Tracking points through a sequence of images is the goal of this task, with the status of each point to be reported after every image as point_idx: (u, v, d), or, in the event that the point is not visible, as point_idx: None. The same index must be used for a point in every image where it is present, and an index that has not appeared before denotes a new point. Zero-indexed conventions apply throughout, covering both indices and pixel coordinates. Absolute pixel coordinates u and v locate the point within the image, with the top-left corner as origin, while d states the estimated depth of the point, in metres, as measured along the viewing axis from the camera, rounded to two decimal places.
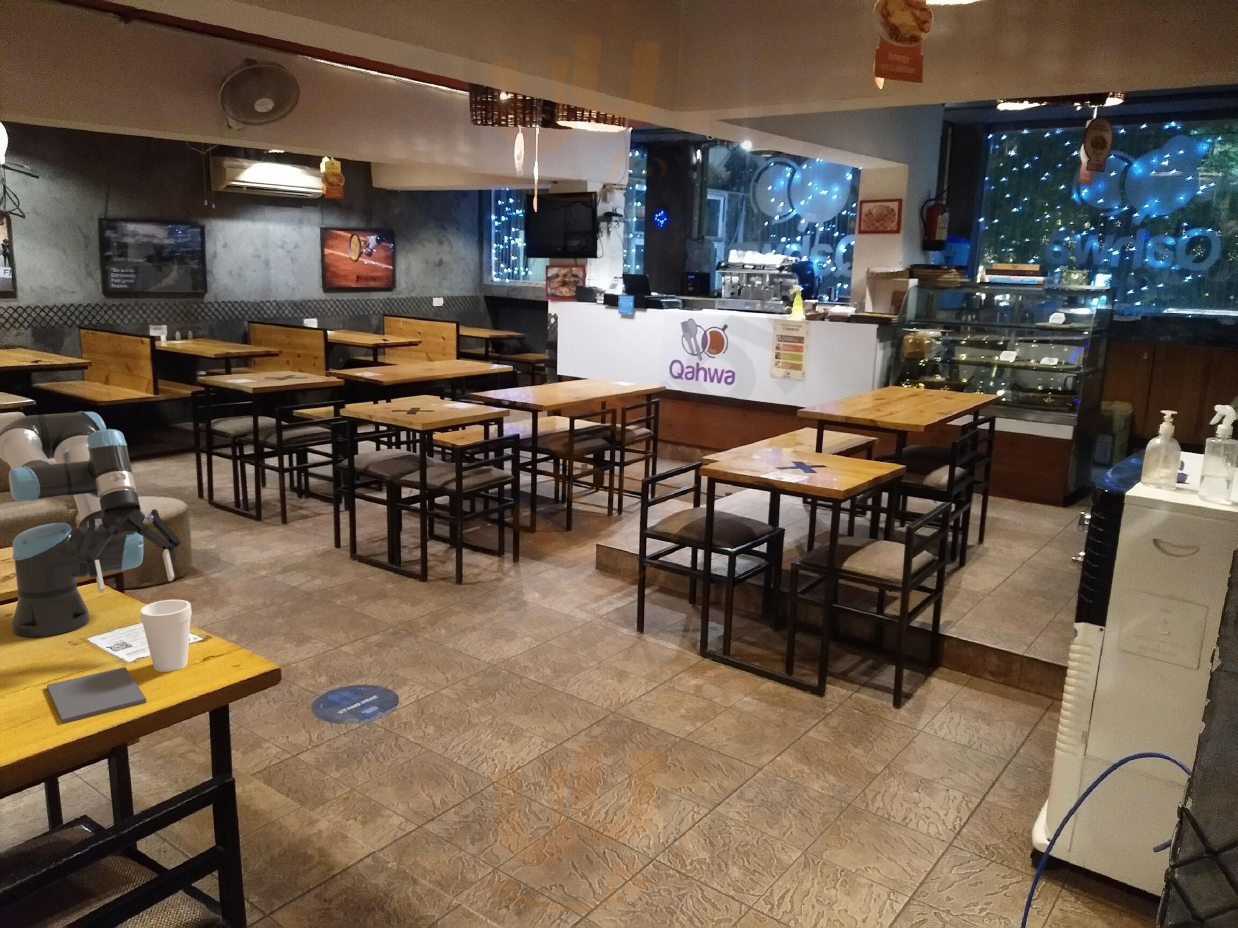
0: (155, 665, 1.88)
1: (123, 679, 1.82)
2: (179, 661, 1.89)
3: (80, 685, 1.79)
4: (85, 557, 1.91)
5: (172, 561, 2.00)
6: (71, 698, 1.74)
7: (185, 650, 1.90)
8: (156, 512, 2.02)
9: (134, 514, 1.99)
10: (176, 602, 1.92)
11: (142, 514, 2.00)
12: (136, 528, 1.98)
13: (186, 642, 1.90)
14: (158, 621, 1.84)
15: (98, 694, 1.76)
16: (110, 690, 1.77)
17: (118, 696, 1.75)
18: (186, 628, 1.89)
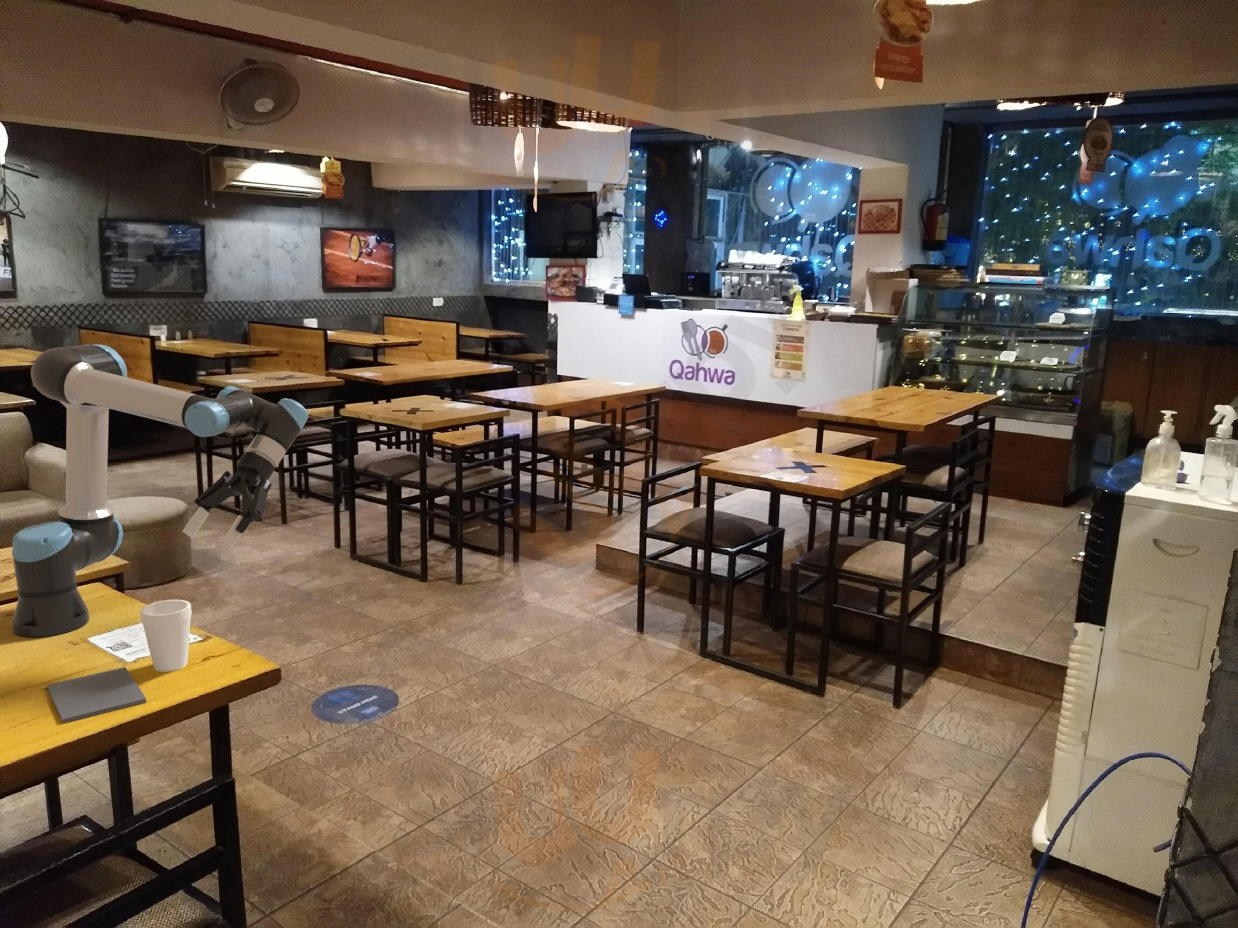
0: (155, 665, 1.88)
1: (123, 679, 1.82)
2: (179, 661, 1.89)
3: (80, 685, 1.79)
4: None
5: None
6: (71, 698, 1.74)
7: (185, 650, 1.90)
8: None
9: None
10: (176, 602, 1.92)
11: None
12: None
13: (186, 642, 1.90)
14: (158, 621, 1.84)
15: (98, 694, 1.76)
16: (110, 690, 1.77)
17: (118, 696, 1.75)
18: (186, 628, 1.89)
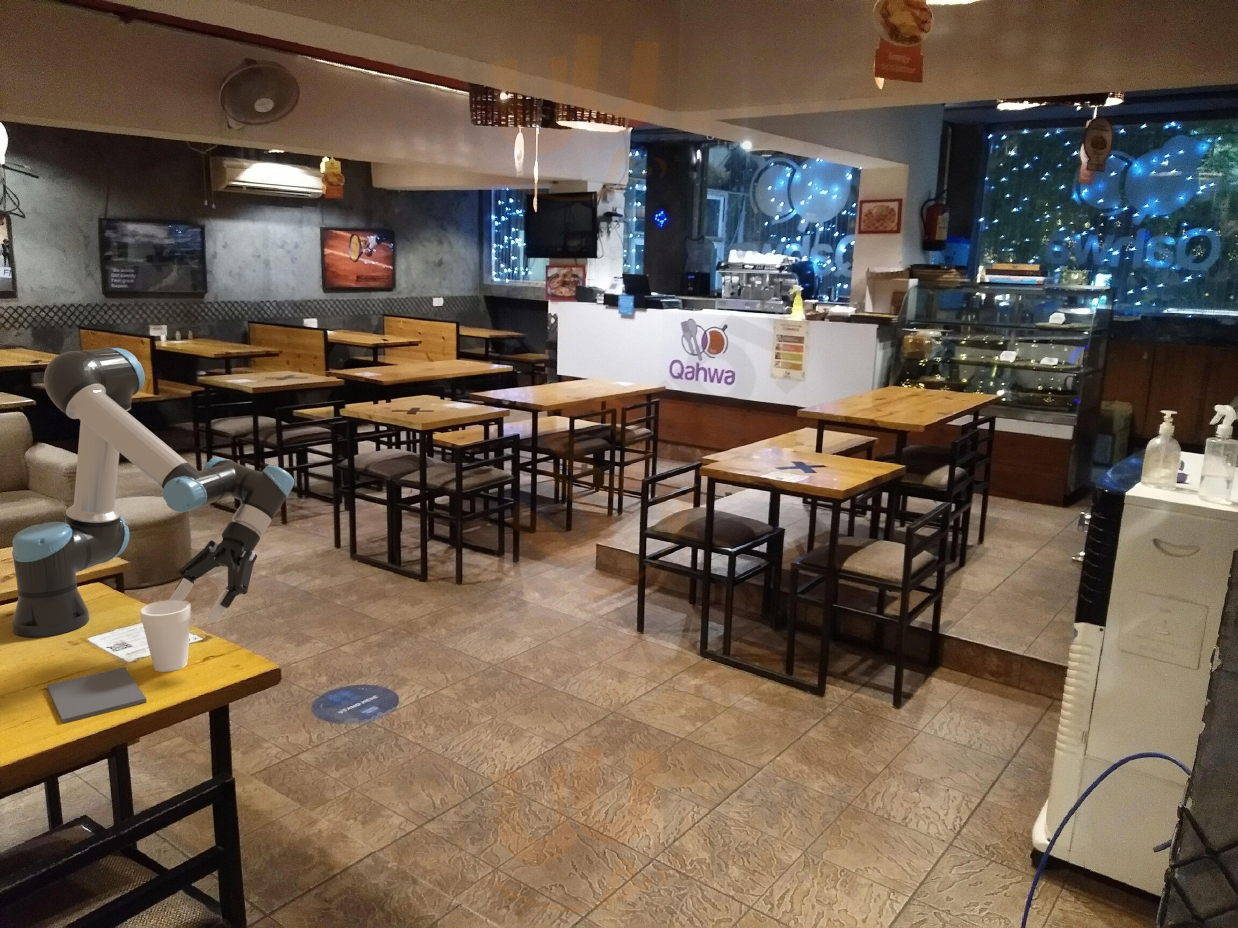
0: (155, 665, 1.88)
1: (123, 679, 1.82)
2: (179, 661, 1.89)
3: (80, 685, 1.79)
4: None
5: None
6: (71, 698, 1.74)
7: (185, 650, 1.90)
8: None
9: None
10: (176, 602, 1.92)
11: None
12: None
13: (186, 642, 1.90)
14: (158, 621, 1.84)
15: (98, 694, 1.76)
16: (110, 690, 1.77)
17: (118, 696, 1.75)
18: (186, 628, 1.89)
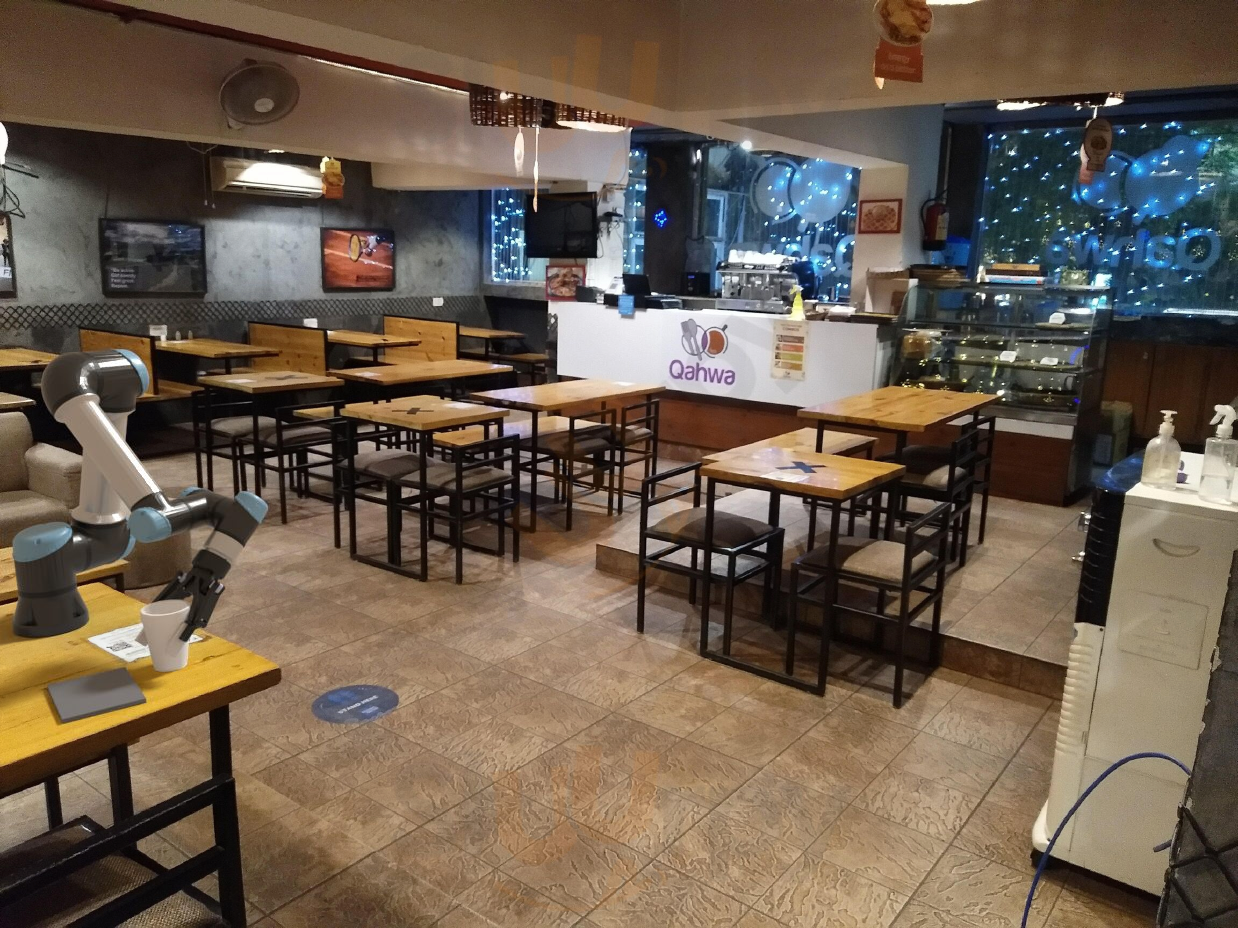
0: (155, 665, 1.88)
1: (123, 679, 1.82)
2: (179, 661, 1.89)
3: (80, 685, 1.79)
4: None
5: None
6: (71, 698, 1.74)
7: (185, 650, 1.90)
8: None
9: None
10: (176, 602, 1.92)
11: None
12: None
13: (186, 642, 1.90)
14: (158, 621, 1.84)
15: (98, 694, 1.76)
16: (110, 690, 1.77)
17: (118, 696, 1.75)
18: None
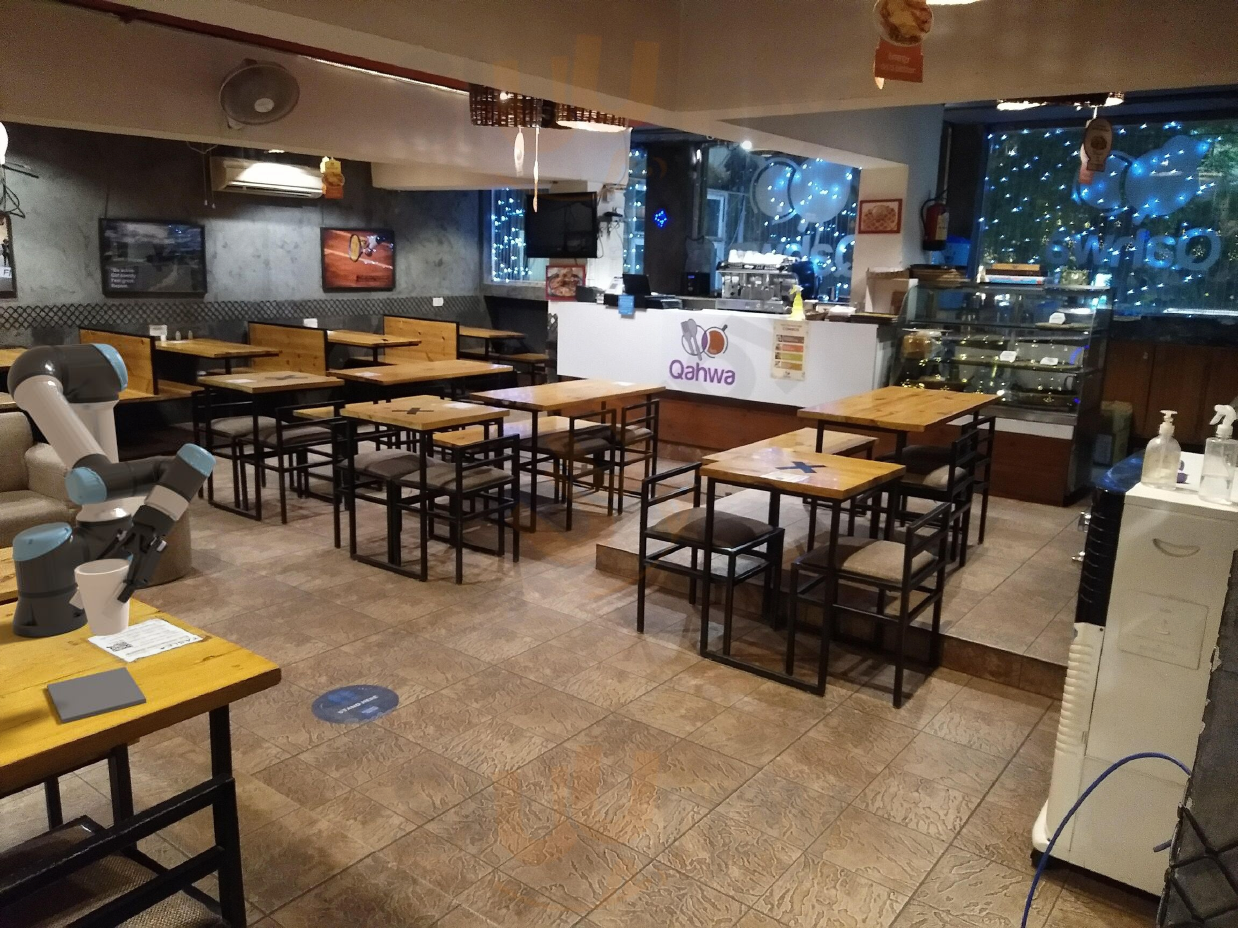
0: (92, 629, 1.74)
1: (123, 679, 1.82)
2: (118, 624, 1.75)
3: (80, 685, 1.79)
4: None
5: None
6: (71, 698, 1.74)
7: (125, 612, 1.76)
8: None
9: None
10: (115, 561, 1.78)
11: None
12: None
13: (126, 604, 1.76)
14: (94, 580, 1.70)
15: (98, 694, 1.76)
16: (110, 690, 1.77)
17: (118, 696, 1.75)
18: None
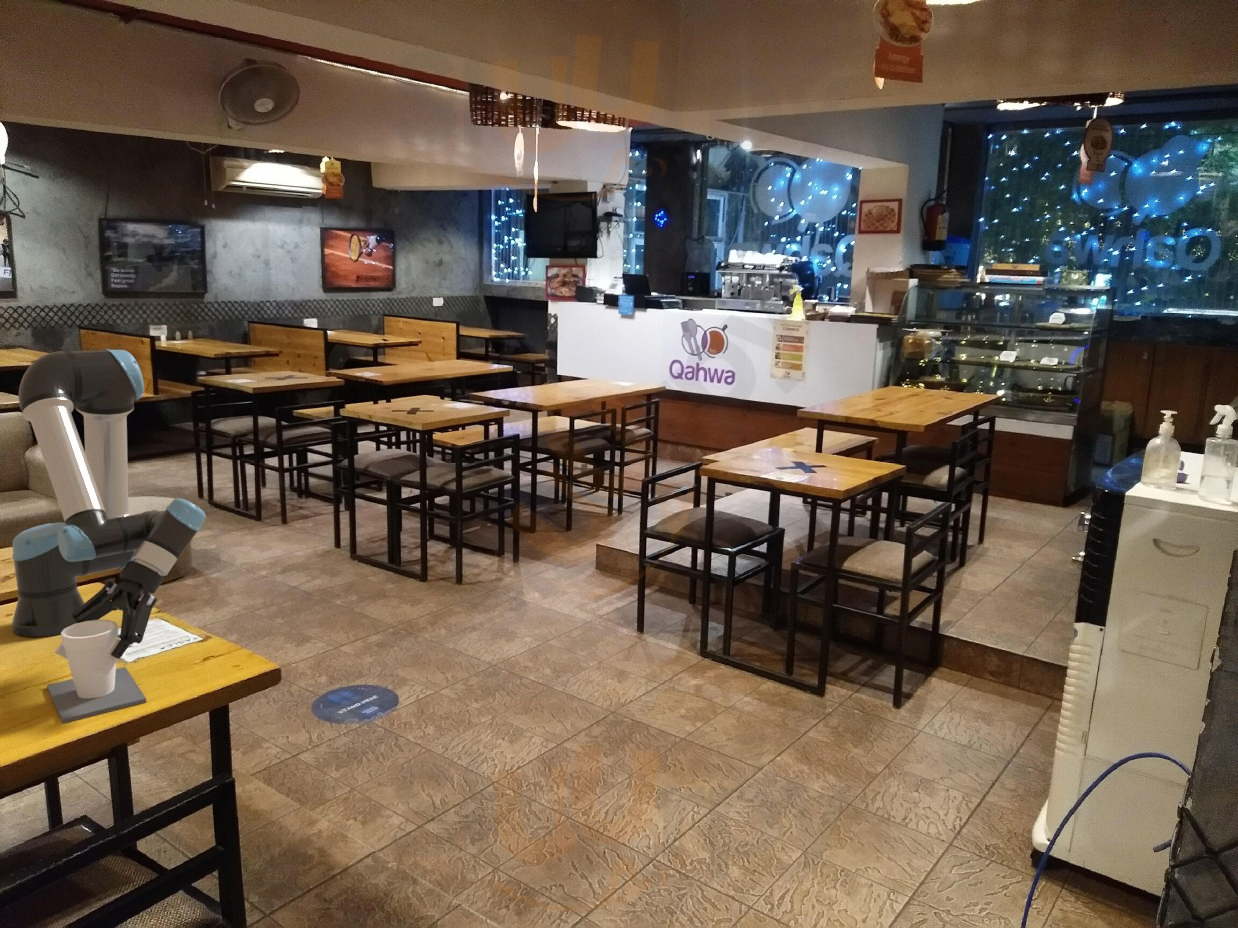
0: (78, 691, 1.74)
1: (123, 679, 1.82)
2: (104, 687, 1.75)
3: None
4: None
5: None
6: (71, 698, 1.74)
7: (111, 675, 1.76)
8: None
9: None
10: (102, 622, 1.78)
11: None
12: None
13: None
14: (79, 644, 1.70)
15: None
16: None
17: (118, 696, 1.75)
18: None
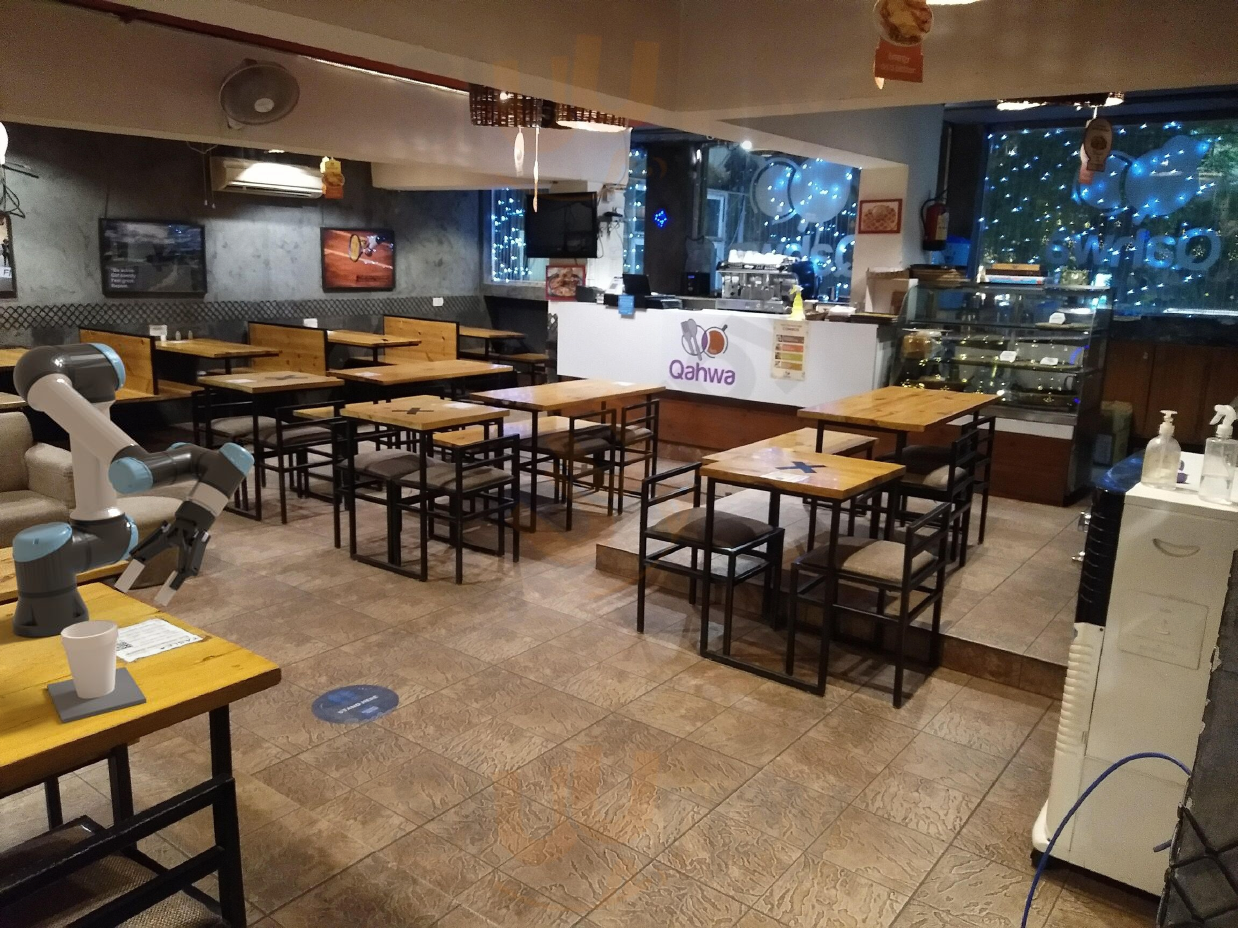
0: (78, 691, 1.74)
1: (123, 679, 1.82)
2: (104, 687, 1.75)
3: None
4: None
5: None
6: (71, 698, 1.74)
7: (111, 675, 1.76)
8: None
9: None
10: (102, 622, 1.78)
11: None
12: None
13: (112, 666, 1.76)
14: (79, 644, 1.70)
15: None
16: None
17: (118, 696, 1.75)
18: (112, 651, 1.75)
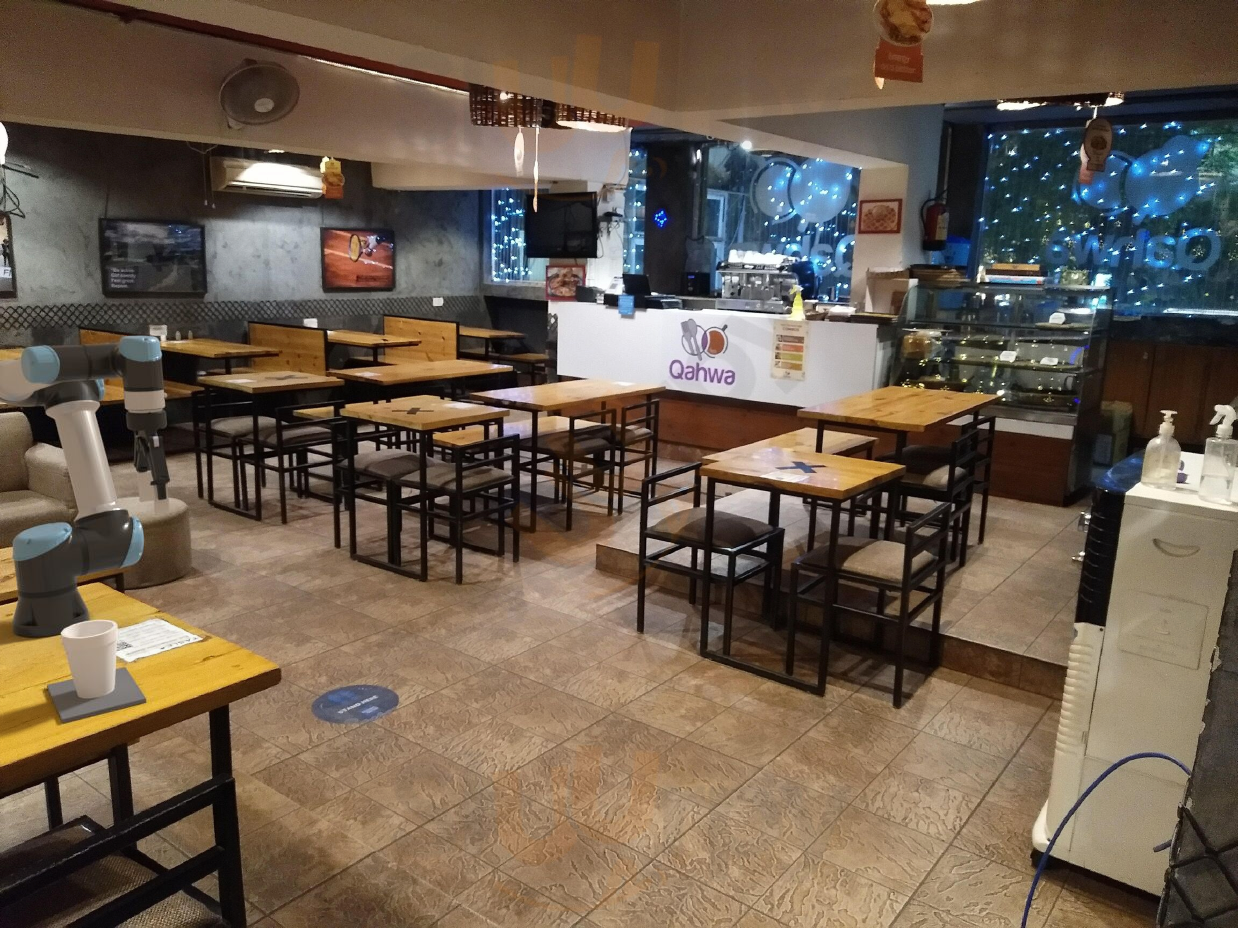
0: (78, 691, 1.74)
1: (123, 679, 1.82)
2: (104, 687, 1.75)
3: None
4: None
5: None
6: (71, 698, 1.74)
7: (111, 675, 1.76)
8: None
9: None
10: (102, 622, 1.78)
11: None
12: None
13: (112, 666, 1.76)
14: (79, 644, 1.70)
15: None
16: None
17: (118, 696, 1.75)
18: (112, 651, 1.75)
